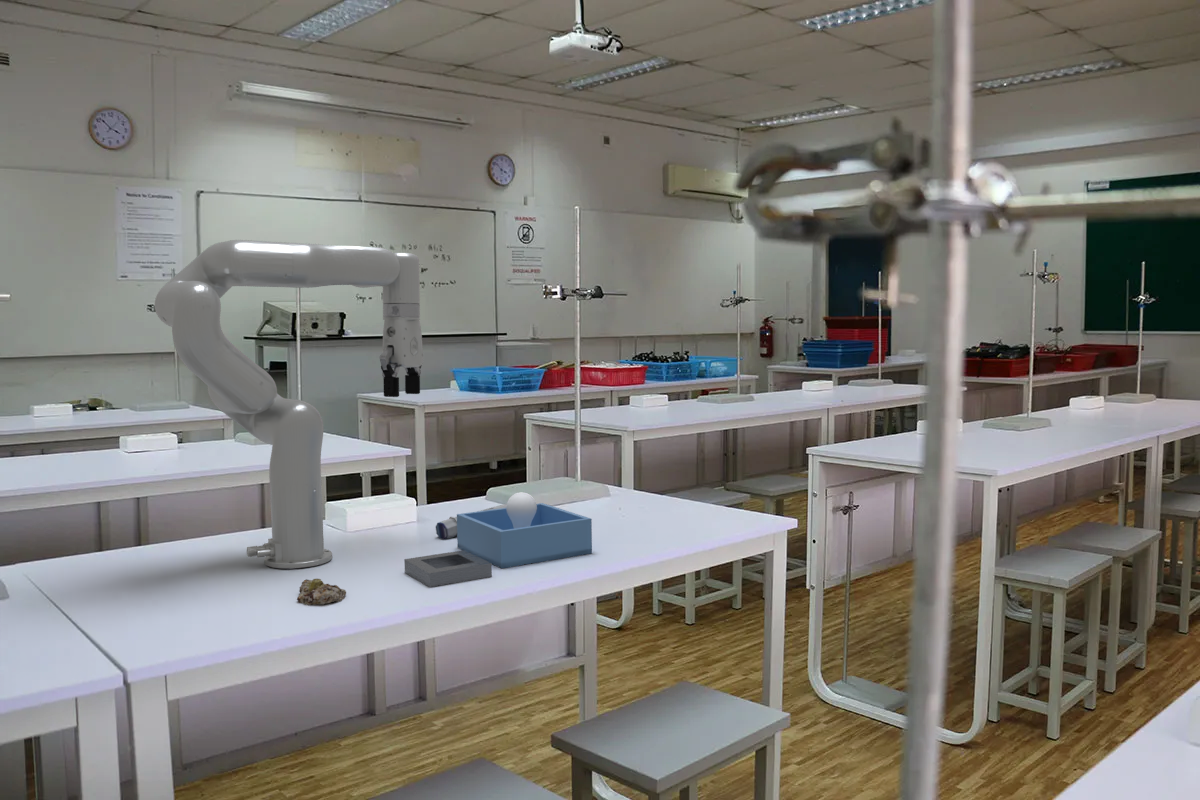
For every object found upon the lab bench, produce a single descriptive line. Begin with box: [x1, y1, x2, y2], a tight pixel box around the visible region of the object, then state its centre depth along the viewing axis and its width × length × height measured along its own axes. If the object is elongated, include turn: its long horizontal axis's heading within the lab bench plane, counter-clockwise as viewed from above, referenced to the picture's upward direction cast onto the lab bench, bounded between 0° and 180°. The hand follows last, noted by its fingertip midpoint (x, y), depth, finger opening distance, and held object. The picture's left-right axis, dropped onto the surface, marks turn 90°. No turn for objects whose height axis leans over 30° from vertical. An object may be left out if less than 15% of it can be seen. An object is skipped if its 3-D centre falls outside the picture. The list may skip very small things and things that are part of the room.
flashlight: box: [435, 503, 507, 540], centre depth 212 cm, size 5×7×25 cm
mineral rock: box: [296, 578, 347, 606], centre depth 162 cm, size 11×4×8 cm
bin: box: [456, 502, 593, 569], centre depth 192 cm, size 20×20×7 cm
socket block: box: [404, 549, 493, 588], centre depth 175 cm, size 12×12×2 cm
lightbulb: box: [506, 491, 538, 529], centre depth 191 cm, size 6×6×11 cm
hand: (402, 395), depth 199 cm, fingers open, 9 cm apart
